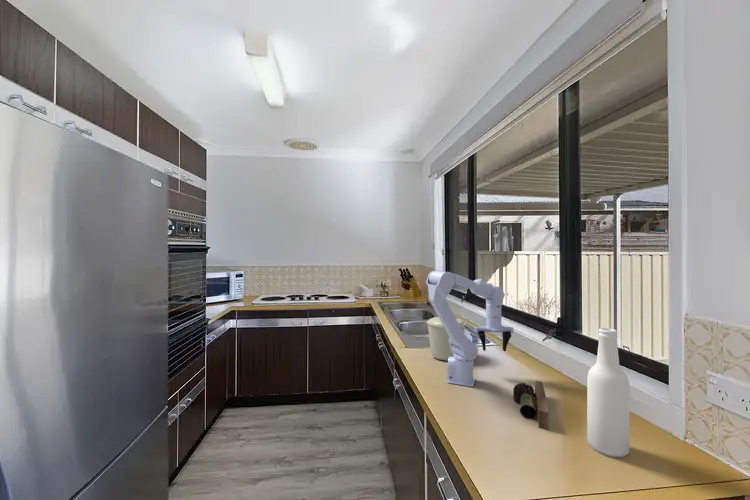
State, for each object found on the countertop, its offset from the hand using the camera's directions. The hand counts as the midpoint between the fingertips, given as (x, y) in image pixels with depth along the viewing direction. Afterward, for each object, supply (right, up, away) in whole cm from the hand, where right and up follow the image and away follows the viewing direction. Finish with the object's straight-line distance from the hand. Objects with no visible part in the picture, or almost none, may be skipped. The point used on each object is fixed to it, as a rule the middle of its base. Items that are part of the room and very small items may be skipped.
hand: (494, 350), depth 134 cm
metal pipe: (+1, -11, -25) cm, 28 cm away
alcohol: (+11, -11, -49) cm, 51 cm away
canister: (-14, -11, +24) cm, 30 cm away
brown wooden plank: (+5, -10, -29) cm, 31 cm away
